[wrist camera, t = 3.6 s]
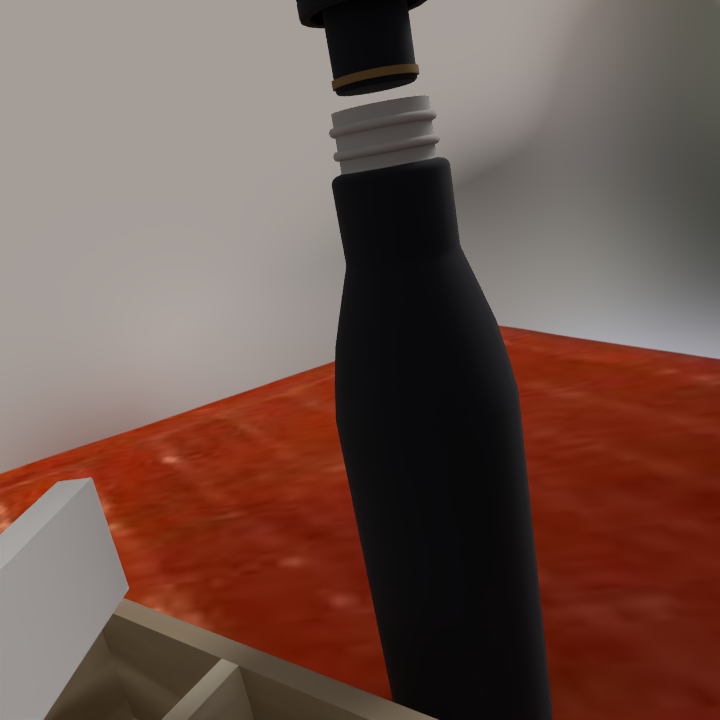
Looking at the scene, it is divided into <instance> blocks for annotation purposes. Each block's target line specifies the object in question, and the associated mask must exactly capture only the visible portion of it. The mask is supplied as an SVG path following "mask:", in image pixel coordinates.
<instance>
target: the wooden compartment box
mask: <svg viewBox="0 0 720 720" xmlns="http://www.w3.org/2000/svg"><path fill="white" fill-rule="evenodd" d="M44 720H438V719H435V718H433V717H430V716H427V715H425V714H422V713H420V712H417V711H415V710H412V709H409V708H407V707H404V706H402V705H399V704H396V703H394V702H391V701H389V700H386V699H383V698H381V697H378V696H376V695H373V694H370V693H368V692H365V691H363V690H360V689H358V688H355V687H352V686H350V685H347V684H345V683H342V682H339V681H337V680H334V679H332V678H329V677H326V676H324V675H321V674H319V673H316V672H313V671H311V670H308V669H306V668H303V667H301V666H298V665H295V664H293V663H290V662H288V661H285V660H282V659H280V658H277V657H275V656H272V655H269V654H267V653H264V652H262V651H259V650H256V649H254V648H251V647H249V646H246V645H244V644H241V643H238V642H236V641H233V640H231V639H228V638H225V637H223V636H220V635H218V634H215V633H212V632H210V631H207V630H205V629H202V628H200V627H197V626H194V625H192V624H189V623H187V622H184V621H181V620H179V619H176V618H174V617H171V616H168V615H166V614H163V613H161V612H158V611H155V610H153V609H150V608H148V607H145V606H143V605H140V604H137V603H135V602H132V601H130V600H127V599H124V598H123V599H122V600H121V602H120V603H119V605H118V606H117V608H116V609H115V611H114V612H113V614H112V615H111V617H110V618H109V620H108V621H107V623H106V625H105V626H104V628H103V629H102V631H101V632H100V634H99V635H98V637H97V638H96V640H95V641H94V643H93V644H92V646H91V648H90V649H89V651H88V652H87V654H86V655H85V657H84V658H83V660H82V661H81V663H80V664H79V666H78V667H77V669H76V671H75V672H74V674H73V675H72V677H71V678H70V680H69V681H68V683H67V684H66V686H65V687H64V689H63V690H62V692H61V693H60V695H59V697H58V698H57V700H56V701H55V703H54V704H53V706H52V707H51V709H50V710H49V712H48V713H47V715H46V716H45V718H44Z"/></svg>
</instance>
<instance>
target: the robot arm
mask: <svg viewBox="0 0 720 720" xmlns="http://www.w3.org/2000/svg"><path fill="white" fill-rule="evenodd" d="M128 589H129V587H128V584H127V581H126V578H125V575H124V572H123V569H122V566H121V563H120V560H119V557H118V554H117V551H116V548H115V545H114V542H113V539H112V536H111V533H110V530H109V527H108V524H107V521H106V518H105V515H104V512H103V509H102V506H101V503H100V500H99V497H98V494H97V491H96V488H95V485H94V482H93V479H92V478H83V479H75V480H67V481H58V482H57V483H56V484H55V485H53V486H52V487H51V488H50V489H49V490H48V491H47V492H46V493H45V494H44V495H43V496H42V497H41V498H39V499H38V500H37V501H36V502H35V503H34V504H33V505H32V506H31V507H30V508H29V509H28V510H26V511H25V512H24V513H23V514H22V515H21V516H20V517H19V518H18V519H17V520H16V521H15V522H13V523H12V524H11V525H10V526H9V527H8V528H7V529H6V530H5V531H4V532H3V533H2V534H1V535H0V720H44V718H45V716H46V715H47V713H48V712H49V710H50V709H51V707H52V706H53V704H54V703H55V701H56V700H57V698H58V697H59V695H60V693H61V692H62V690H63V689H64V687H65V686H66V684H67V683H68V681H69V680H70V678H71V677H72V675H73V674H74V672H75V671H76V669H77V667H78V666H79V664H80V663H81V661H82V660H83V658H84V657H85V655H86V654H87V652H88V651H89V649H90V648H91V646H92V644H93V643H94V641H95V640H96V638H97V637H98V635H99V634H100V632H101V631H102V629H103V628H104V626H105V625H106V623H107V621H108V620H109V618H110V617H111V615H112V614H113V612H114V611H115V609H116V608H117V606H118V605H119V603H120V602H121V600H122V599H123V597H124V595H125V594H126V592H127V591H128Z"/></svg>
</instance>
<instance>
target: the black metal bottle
mask: <svg viewBox="0 0 720 720" xmlns="http://www.w3.org/2000/svg"><path fill="white" fill-rule="evenodd" d="M296 1H297V8H298V14H299V19H300V22H301V24H302V25H304V26H307V27H312V28H325V32H326V38H327V44H328V49H329V55H330V61H331V67H332V73H333V78H334V81H332V87H333V91H336V94H337V95H339V96H353V95H362V94H368V93H374V92H378V91H384V90H388V89H392V88H396V87H400V86H404V85H407V84H410V83H412V82H414V81H415V80H416V78H417V75H418V74H419V68H418V65H416V64H415V57H414V50H413V43H412V35H411V28H410V20H409V13H408V11H409V10H411V9H413V8H416V7H418V6H420V5H421V4H423V3H424V2H425V1H427V0H296ZM435 118H436V112H435V111H434V110H430V105H429V96H414V97H406V98H400V99H394V100H387V101H382V102H377V103H372V104H367V105H362V106H358V107H354V108H350V109H346V110H343V111H339V112H336V113H333V114H332V122H333V126H334V128H333V129H331V130H330V132H329V135H330V137H332V138H336V144H337V150H338V152H337V153H335V154H334V160H335V161H337V162H338V161H340V167H341V175H340V176H338V177H336V178H335V179H334V180H333V182H332V189H333V195H334V200H335V206H336V211H337V217H338V222H339V227H340V233H341V239H342V244H343V249H344V255H345V260H346V273H345V280H344V287H343V295H342V301H341V309H340V316H339V324H338V332H337V340H336V352H335V353H336V354H335V355H336V356H335V402H336V423H337V427H338V432H339V437H340V442H341V447H342V452H343V457H344V462H345V467H346V472H347V477H348V482H349V486H350V491H351V496H352V501H353V506H354V511H355V516H356V521H357V526H358V531H359V536H360V541H361V545H362V550H363V555H364V560H365V565H366V570H367V575H368V580H369V585H370V590H371V595H372V600H373V604H374V609H375V614H376V619H377V624H378V629H379V634H380V639H381V644H382V649H383V654H384V659H385V663H386V668H387V673H388V678H389V683H390V688H391V693H392V697H393V702H394V703H396V704H399V705H402V706H404V707H407V708H409V709H412V710H415V711H417V712H420V713H422V714H425V715H427V716H430V717H433V718H435V719H438V720H552V705H551V695H550V686H549V677H548V667H547V657H546V648H545V638H544V629H543V619H542V610H541V601H540V591H539V582H538V572H537V563H536V553H535V544H534V534H533V525H532V515H531V506H530V497H529V487H528V478H527V468H526V459H525V449H524V440H523V430H522V421H521V411H520V402H519V392H518V388H517V384H516V381H515V377H514V374H513V370H512V367H511V363H510V360H509V357H508V353H507V351H506V348H505V345H504V342H503V339H502V336H501V333H500V330H499V327H498V324H497V321H496V319H495V317H494V315H493V312H492V310H491V308H490V306H489V304H488V302H487V300H486V298H485V296H484V294H483V291H482V290H481V287H480V285H479V283H478V281H477V279H476V277H475V275H474V273H473V271H472V269H471V267H470V265H469V263H468V261H467V259H466V257H465V255H464V253H463V251H462V249H461V246H460V241H459V233H458V225H457V217H456V209H455V201H454V193H453V185H452V178H451V169H450V163H449V161H448V160H447V159H445V158H439V157H437V155H436V149H435V144H436V143H438V142H439V140H440V138H439V136H438V135H437V134H433V126H432V120H433V119H435Z"/></svg>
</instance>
